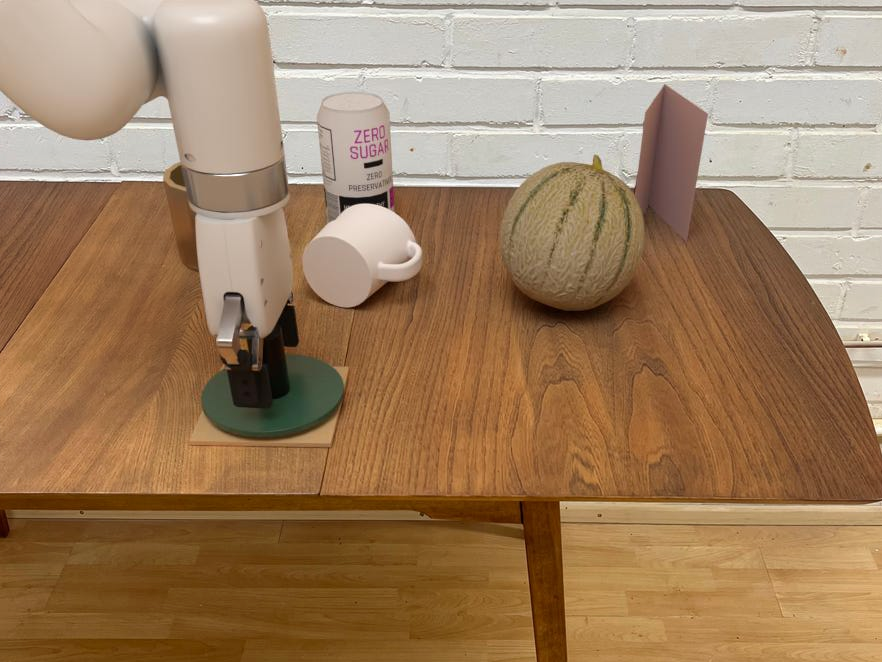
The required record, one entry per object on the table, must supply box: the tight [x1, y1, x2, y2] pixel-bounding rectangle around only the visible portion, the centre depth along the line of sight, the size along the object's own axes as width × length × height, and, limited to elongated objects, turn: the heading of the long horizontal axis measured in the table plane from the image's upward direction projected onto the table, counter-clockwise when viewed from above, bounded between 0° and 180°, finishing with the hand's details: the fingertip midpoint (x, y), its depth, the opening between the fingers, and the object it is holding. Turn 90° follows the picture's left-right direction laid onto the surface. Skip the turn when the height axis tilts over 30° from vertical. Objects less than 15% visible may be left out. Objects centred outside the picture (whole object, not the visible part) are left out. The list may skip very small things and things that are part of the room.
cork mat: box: [188, 364, 350, 448], centre depth 80 cm, size 12×12×1 cm
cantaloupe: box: [499, 154, 646, 312], centre depth 91 cm, size 15×15×15 cm
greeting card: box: [633, 83, 709, 243], centre depth 106 cm, size 11×7×15 cm, turn 160°
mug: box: [301, 204, 423, 308], centre depth 94 cm, size 12×9×8 cm
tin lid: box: [200, 324, 345, 437], centre depth 77 cm, size 12×12×7 cm
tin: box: [162, 161, 199, 273], centre depth 101 cm, size 11×11×10 cm
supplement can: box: [316, 91, 396, 224], centre depth 104 cm, size 8×8×15 cm
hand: (268, 374), depth 78 cm, fingers open, 9 cm apart
